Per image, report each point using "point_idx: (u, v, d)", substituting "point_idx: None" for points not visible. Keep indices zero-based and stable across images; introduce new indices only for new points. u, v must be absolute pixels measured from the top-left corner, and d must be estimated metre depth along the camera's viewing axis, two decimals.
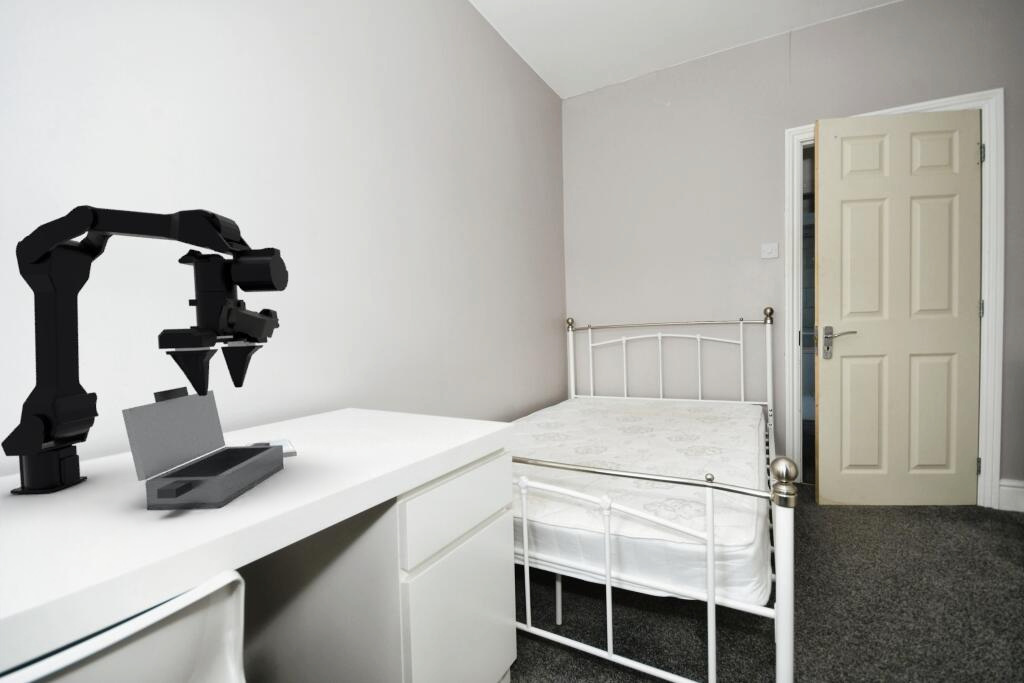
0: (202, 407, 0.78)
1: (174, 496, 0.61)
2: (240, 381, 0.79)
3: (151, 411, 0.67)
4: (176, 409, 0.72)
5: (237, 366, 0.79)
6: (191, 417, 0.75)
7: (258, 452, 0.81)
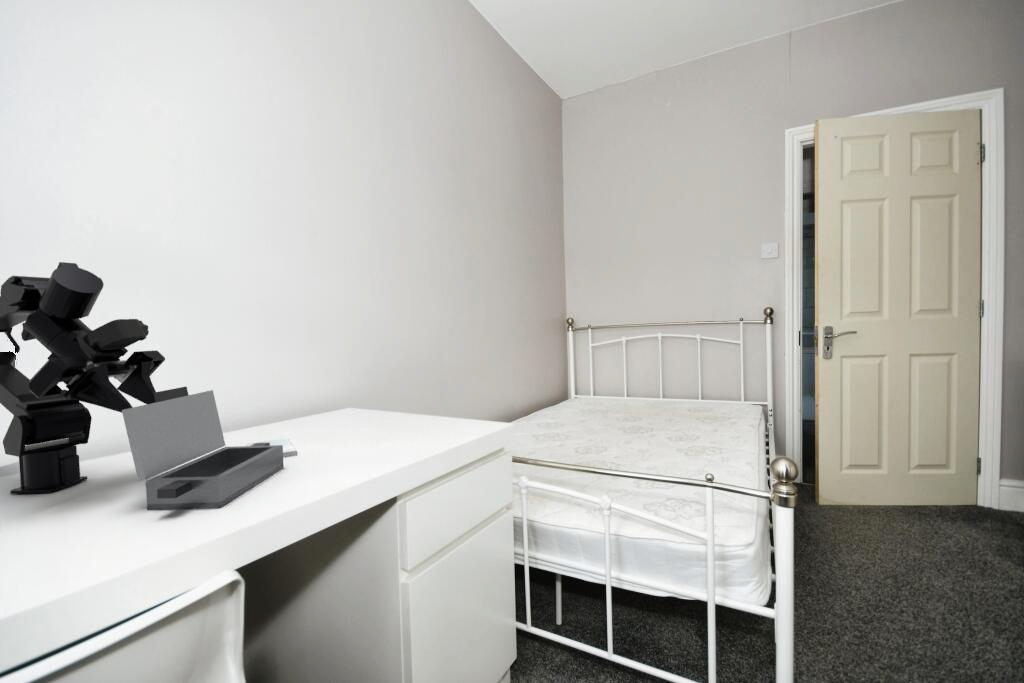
0: (202, 407, 0.78)
1: (174, 496, 0.61)
2: (154, 399, 0.75)
3: (151, 411, 0.67)
4: (176, 409, 0.72)
5: (142, 390, 0.75)
6: (191, 417, 0.75)
7: (258, 452, 0.81)
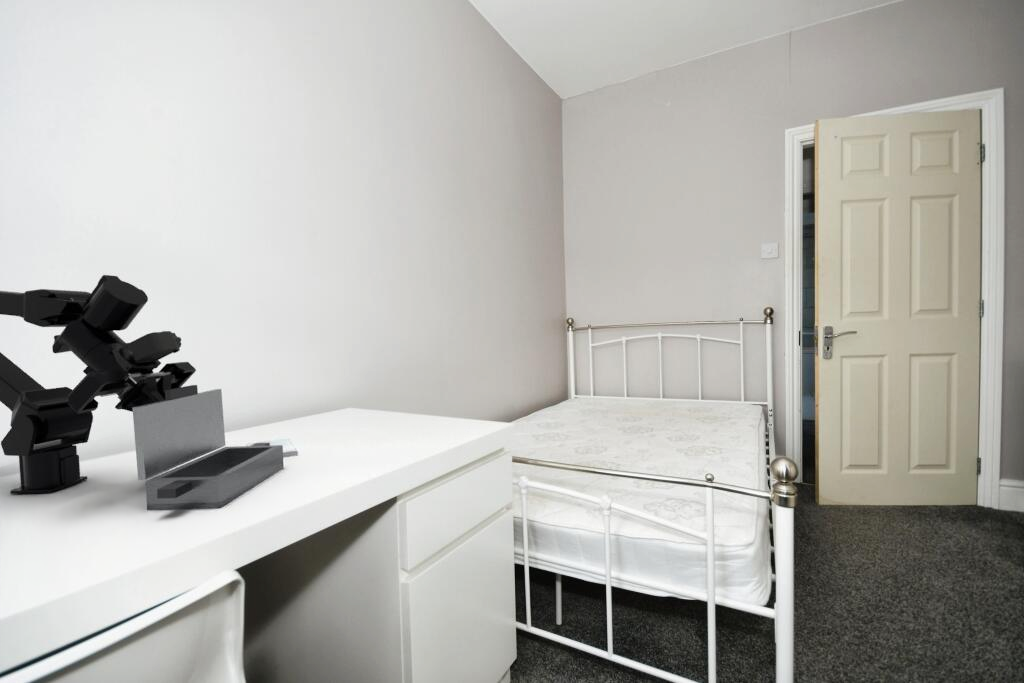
0: (209, 406, 0.78)
1: (174, 496, 0.61)
2: None
3: (160, 410, 0.67)
4: (184, 408, 0.72)
5: None
6: (197, 416, 0.75)
7: (258, 452, 0.81)
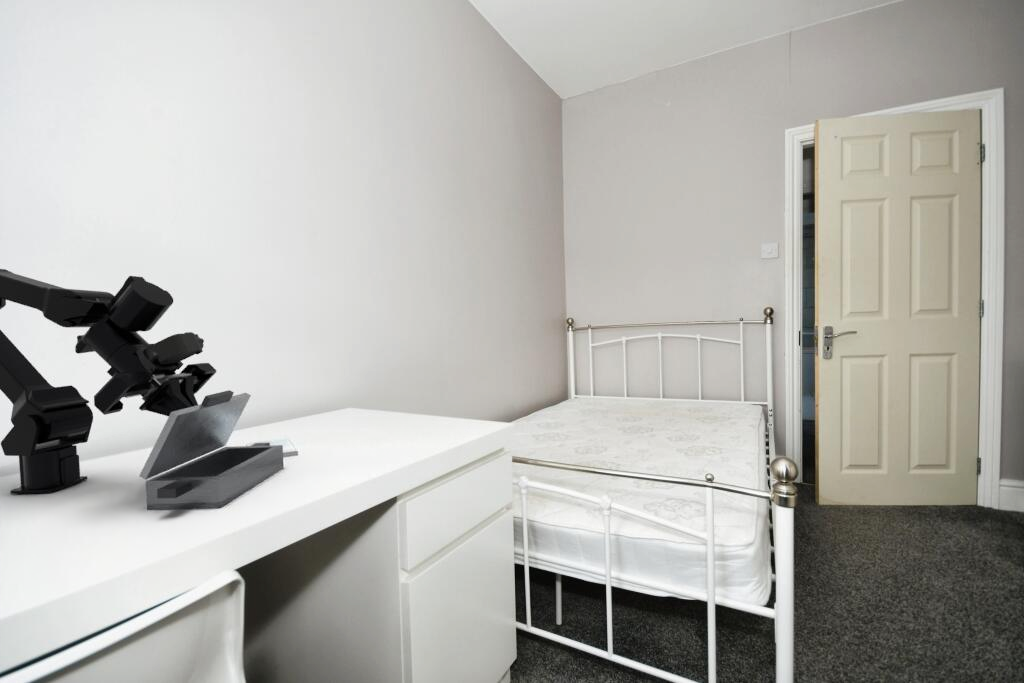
0: (232, 411, 0.78)
1: (174, 496, 0.61)
2: None
3: (192, 417, 0.67)
4: (212, 414, 0.72)
5: None
6: (218, 421, 0.75)
7: (258, 452, 0.81)
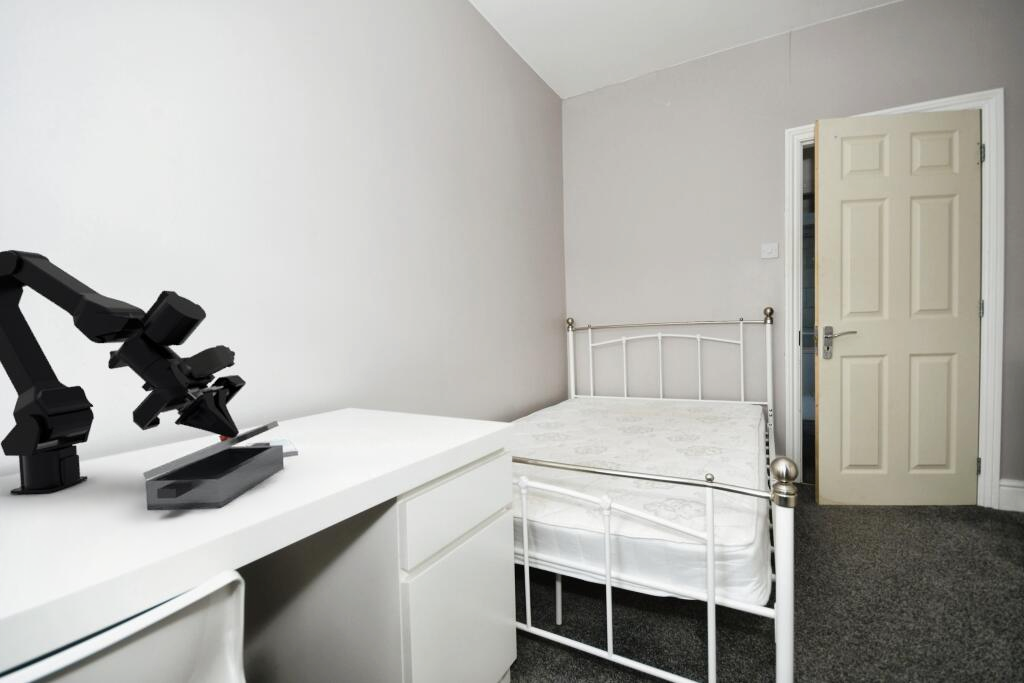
0: None
1: (174, 496, 0.61)
2: None
3: None
4: None
5: None
6: None
7: (258, 452, 0.81)
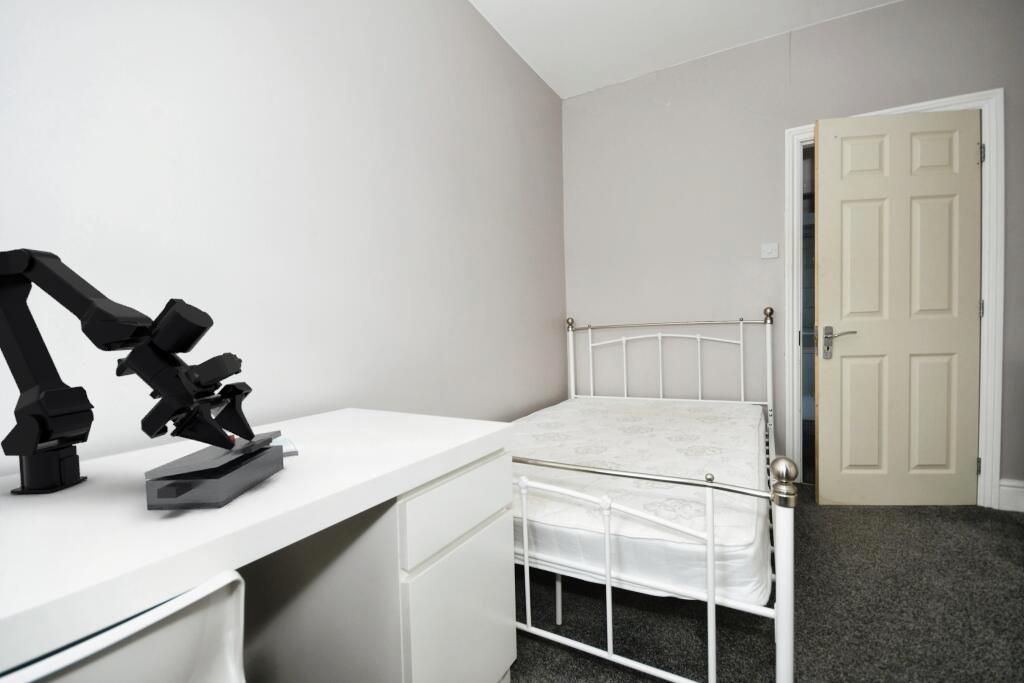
0: None
1: (174, 496, 0.61)
2: (249, 432, 0.75)
3: None
4: None
5: (236, 424, 0.76)
6: None
7: (258, 452, 0.81)
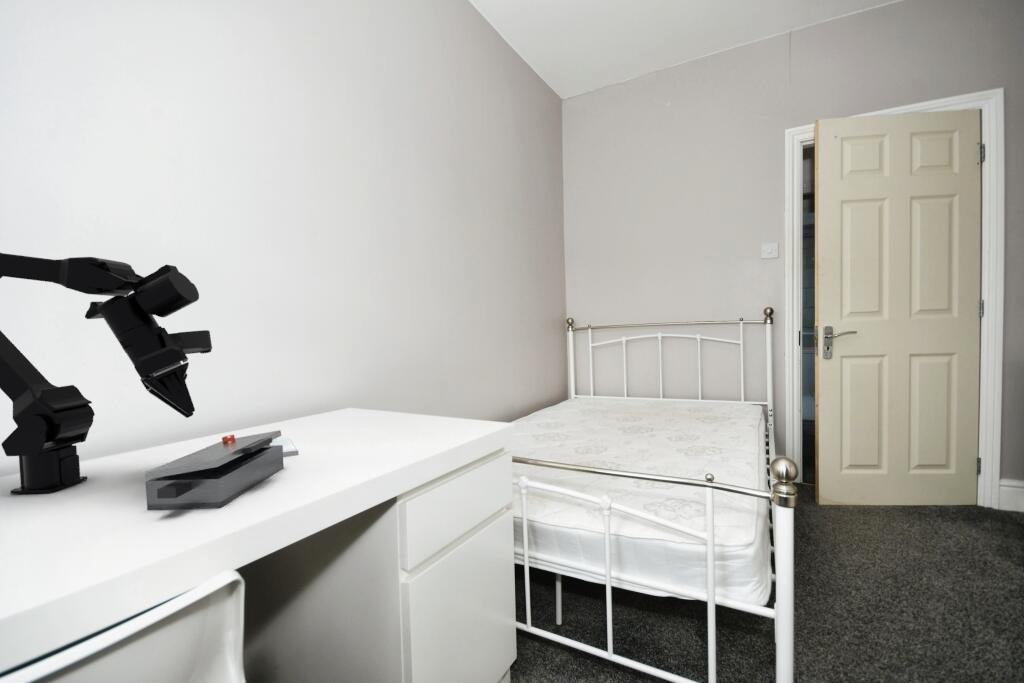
0: None
1: (174, 496, 0.61)
2: None
3: None
4: None
5: None
6: None
7: (258, 452, 0.81)
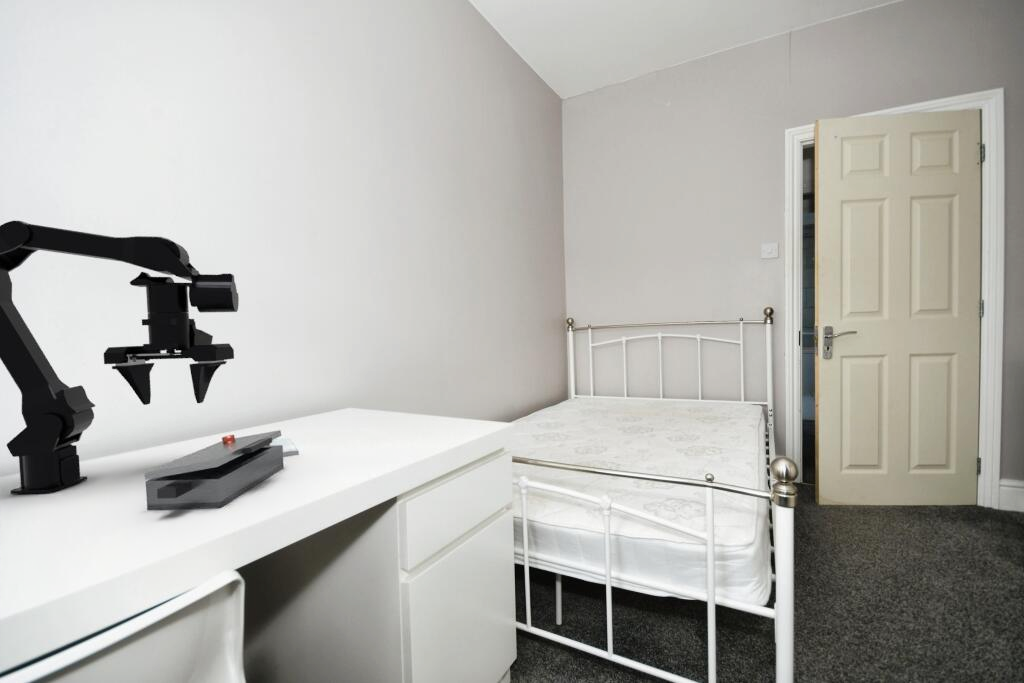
0: None
1: (174, 496, 0.61)
2: (149, 398, 0.81)
3: None
4: None
5: (144, 383, 0.80)
6: None
7: (258, 452, 0.81)
